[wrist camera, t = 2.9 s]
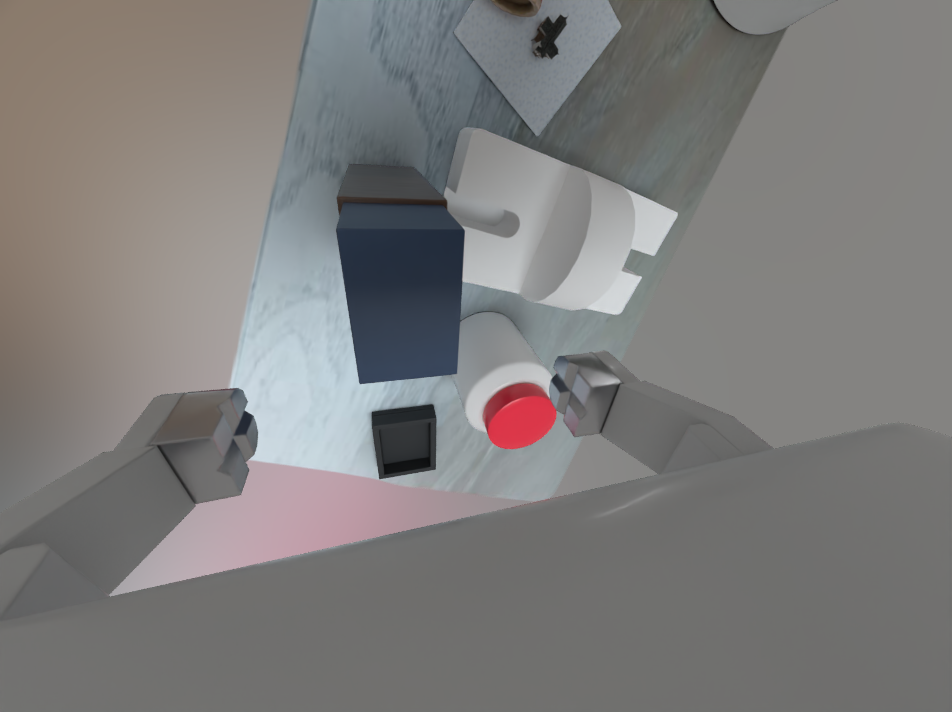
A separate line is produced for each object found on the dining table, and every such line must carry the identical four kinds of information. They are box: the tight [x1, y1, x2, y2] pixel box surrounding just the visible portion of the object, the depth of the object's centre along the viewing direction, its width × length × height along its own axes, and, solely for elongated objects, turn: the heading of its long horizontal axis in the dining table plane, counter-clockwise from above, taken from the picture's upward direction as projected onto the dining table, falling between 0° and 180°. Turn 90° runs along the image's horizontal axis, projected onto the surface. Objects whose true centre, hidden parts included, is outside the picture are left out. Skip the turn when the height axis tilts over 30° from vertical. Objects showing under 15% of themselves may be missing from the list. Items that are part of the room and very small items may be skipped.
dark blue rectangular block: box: [336, 202, 465, 384], centre depth 14 cm, size 6×4×4 cm, turn 176°
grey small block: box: [453, 0, 621, 137], centre depth 20 cm, size 8×8×2 cm
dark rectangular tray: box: [372, 405, 436, 479], centre depth 37 cm, size 8×6×2 cm
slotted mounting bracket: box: [443, 127, 678, 315], centre depth 25 cm, size 10×18×9 cm, turn 72°
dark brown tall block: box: [337, 164, 448, 217], centre depth 20 cm, size 6×4×12 cm
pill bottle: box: [452, 312, 556, 449], centre depth 30 cm, size 8×8×11 cm
